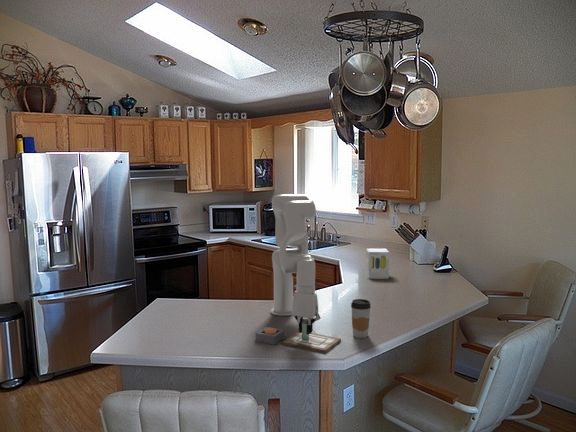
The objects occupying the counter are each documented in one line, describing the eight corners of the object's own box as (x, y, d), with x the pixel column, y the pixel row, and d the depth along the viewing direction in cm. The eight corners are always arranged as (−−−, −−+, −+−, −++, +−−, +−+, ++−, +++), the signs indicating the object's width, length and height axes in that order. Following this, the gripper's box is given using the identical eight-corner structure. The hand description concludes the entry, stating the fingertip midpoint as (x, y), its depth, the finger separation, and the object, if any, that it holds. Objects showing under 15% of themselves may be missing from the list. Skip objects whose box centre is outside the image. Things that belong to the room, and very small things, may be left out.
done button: (268, 331, 210) (268, 326, 210) (278, 333, 207) (278, 328, 207) (262, 335, 205) (262, 330, 205) (272, 337, 203) (272, 332, 203)
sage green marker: (303, 337, 205) (304, 318, 204) (310, 338, 203) (310, 319, 202) (300, 339, 202) (300, 320, 201) (306, 340, 200) (307, 321, 200)
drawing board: (300, 333, 214) (300, 330, 214) (340, 341, 204) (340, 338, 204) (282, 344, 201) (282, 341, 201) (325, 353, 191) (325, 350, 191)
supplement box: (367, 278, 314) (368, 251, 313) (365, 274, 328) (365, 248, 326) (388, 278, 314) (389, 251, 312) (385, 274, 327) (386, 248, 325)
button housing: (267, 334, 213) (267, 326, 212) (285, 337, 208) (285, 330, 208) (255, 340, 205) (255, 332, 205) (274, 344, 201) (274, 336, 200)
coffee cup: (368, 332, 216) (368, 298, 214) (371, 338, 207) (372, 304, 206) (349, 332, 215) (349, 298, 214) (352, 339, 207) (352, 304, 205)
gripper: (283, 288, 201) (283, 332, 203) (319, 293, 193) (319, 339, 195) (292, 284, 208) (292, 326, 210) (327, 289, 200) (327, 333, 202)
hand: (305, 332), depth 202 cm, fingers closed on sage green marker, 3 cm apart
